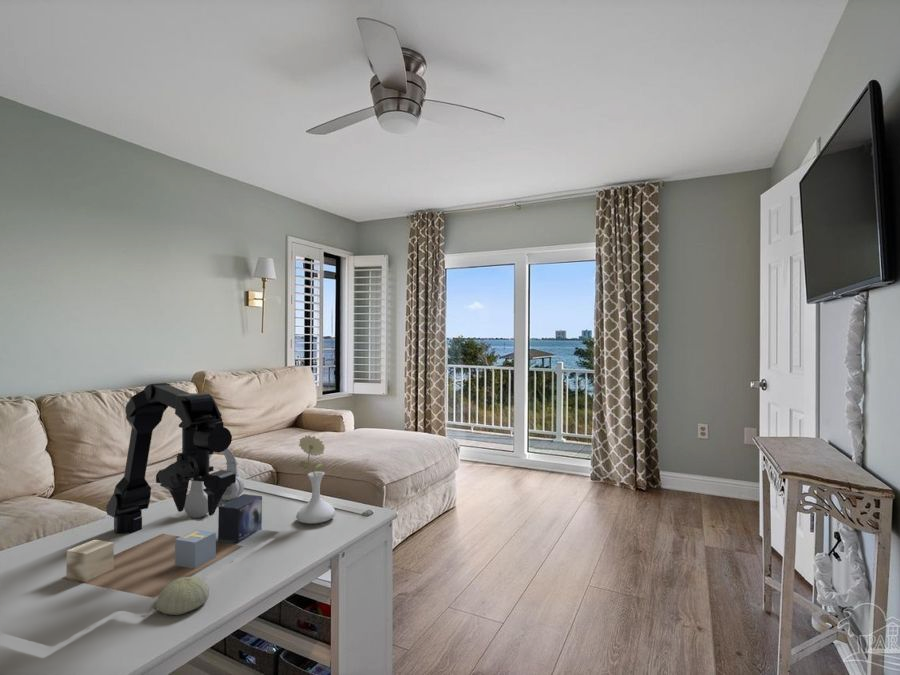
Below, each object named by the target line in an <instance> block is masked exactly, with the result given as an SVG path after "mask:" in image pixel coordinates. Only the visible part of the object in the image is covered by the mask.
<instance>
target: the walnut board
mask: <svg viewBox="0 0 900 675" xmlns="http://www.w3.org/2000/svg"><path fill="white" fill-rule="evenodd" d="M179 537H181V536H178V535H172V534H167V533H166V534H165V533H161V534H159V535H156V536H154V537H152V538H149V539H147V540H145V541H143V542H141V543H139V544H136V545H134V546H132V547H129V548H127V549H124V550H122V551H120V552H118V553H116V554H114V569H112V570H110V571H108V572H106V573H104V574H102V575H100V576H97V577H95V578H93V579H91V580H89V581H87V582H84V581H79V580H74V579H69V578H66V576H63V577H61V578H60V579H61V580H64V581H65V580H66V581H70V582H74V583H75V582H76V583H81V584H86V585H90V586H94V587H100V588H104V589H108V590H109V589H110V590H114V591H119V592H124V593H127V594H128V593H129V594H134V595H138V596H143V597H148V598H153V599H155V598H156V597H157V598H158V596H159V594H160V592H161V591H162V590H163V589H164V588H165V587H166V586H167V585H168V584H169V583H171V582H172V581H174V580H176V579H179V578H183V577H194V576H196V574H199V573H200V572H201V571H203V570H205V569H207V568H208V567H211V566H212V565H213V564H216V563H217V562H218V561H221V560H222V559H223V558H225V557H228V556H229V555H232V553H234V552H236V551H238V550H240V549H241V548H243V547H244V546H243V545H238V544H234V543H226V542H218V541H216V557H215V558H214V559H212V560H210V561H208V562H207V563H205V564H203V565H201V566H200V567H198V568H196V569H193V568H187V567H182V566H176V565H175V539H177V538H179Z"/></svg>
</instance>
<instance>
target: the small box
mask: <svg viewBox="0 0 900 675" xmlns="http://www.w3.org/2000/svg"><path fill="white" fill-rule="evenodd" d="M262 513H263V496H261V495H254V494H247V493H244V494H241V495H240V496H238V497H237V498H234V499H232V500H228V501H227V502H224V503H222V504H221V505H218V521H217V522H218V523H217V524H218V525H217V527H218V529H217V542H220V543H226V544H239V543H241V542H243V541H245V540H246V539H247V538H249V537H251V536H252V535H254V534H256V533H257V532H259V531H262V529H263V528H262V524H263V522H262V521H263V520H262V518H263V514H262Z"/></svg>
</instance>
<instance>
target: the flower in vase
mask: <svg viewBox="0 0 900 675" xmlns="http://www.w3.org/2000/svg"><path fill="white" fill-rule="evenodd" d="M298 446H299V447H300V448H301V449H300V450H303V452H304V453H305V454H308V456H307V461H304V460H302V461H301V462H300V463H299V464H298V467H302V468H305V469H308V468H310V470H311V471H312V472H309V473H307V474H306V475H307V477H308V478H309V480H310V483H311V498H310V500H309V501H308V502H307V503H305V505H303V506H302V507H301V508H300V509H299V510H298V511H297V512H296V515H295V517H296V519H297V521H298V522H299V523H302V524H307V525H308V524H310V525H311V524H312V525H314V524H320V523H324V522H327V521H329V520H331V519H333V518H334V517H335V515H336V510H335V508H334V507H333V506H332V505H331V504H329V503H328V502H327V501H325V500H324V499H322V498H321V482H322V479H323V477H324V476H325V474H326V473H325V472H324V471H314V470H317V469H319V468H320V467H322V465H323V464H324V462H322V463H319V464H317V465H315V467H314V468H313V467H312V466H311V463H310V456H313V457H315V456H316V457H317V456H321V455H323V454H324V452H325V449H326V448H325V444H323V441H322V440H321V439H319V438H316V436H311V435H305V436H304V437H301V438H300V439H299V443H298Z"/></svg>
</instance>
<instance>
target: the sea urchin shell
mask: <svg viewBox="0 0 900 675" xmlns="http://www.w3.org/2000/svg"><path fill="white" fill-rule="evenodd" d="M209 594H210V587H209V586H208V583H207V582H206V581H205V580H203V579H202V578H201V577H197V576H191V577H183V578H179V579H176V580H174V581H172V582H171V583H169V584H168V585H167V586H166V587H165V588H164V589H163V590H162V591H161V592H160V594H159V595H158V596H157V599H156V603H155V604H156V609H157V610H158V611H159V612H160V613H163V614H165V615H171V616H173V615H175V616H178V615H184V614H186V613H191V612H192V611H193V610H197V609H199V607H201V606H203V605H204V604H205V603H206V602H207V600H208V599H209V596H210V595H209Z"/></svg>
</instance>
